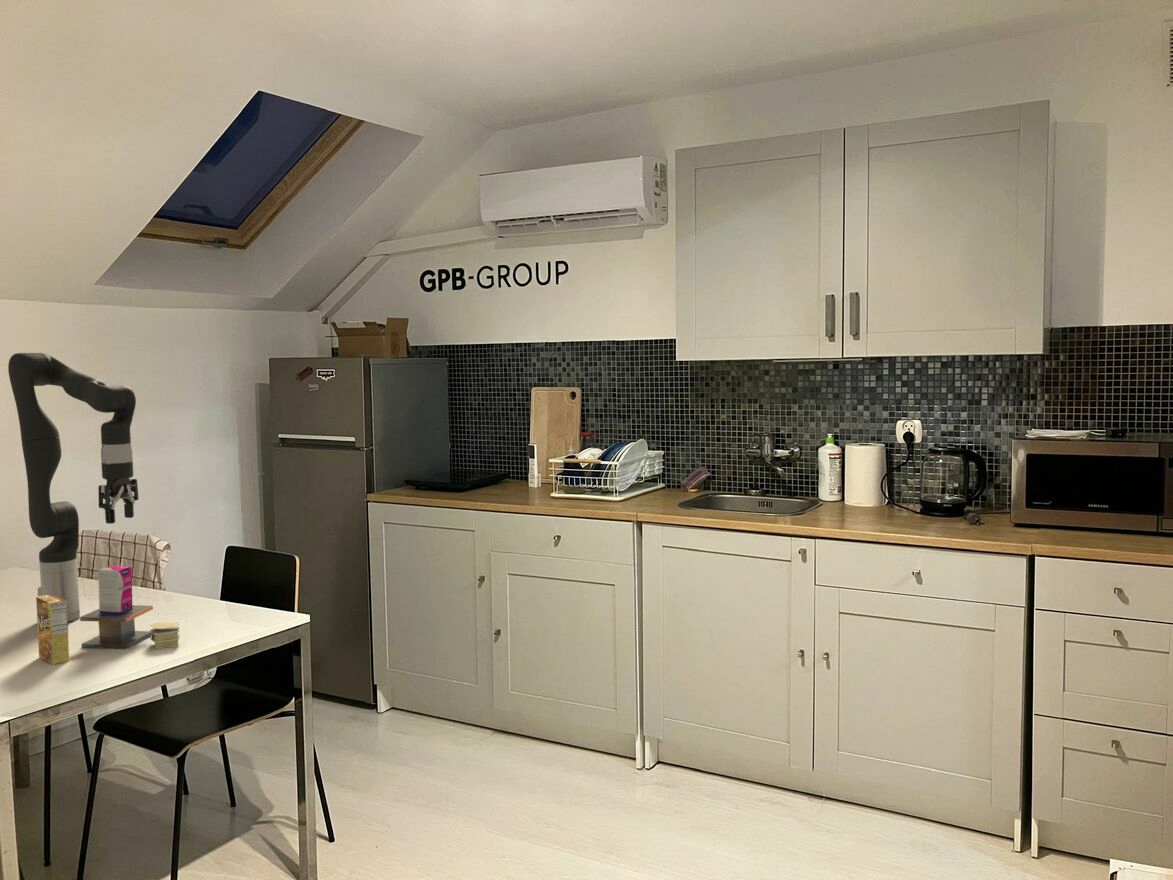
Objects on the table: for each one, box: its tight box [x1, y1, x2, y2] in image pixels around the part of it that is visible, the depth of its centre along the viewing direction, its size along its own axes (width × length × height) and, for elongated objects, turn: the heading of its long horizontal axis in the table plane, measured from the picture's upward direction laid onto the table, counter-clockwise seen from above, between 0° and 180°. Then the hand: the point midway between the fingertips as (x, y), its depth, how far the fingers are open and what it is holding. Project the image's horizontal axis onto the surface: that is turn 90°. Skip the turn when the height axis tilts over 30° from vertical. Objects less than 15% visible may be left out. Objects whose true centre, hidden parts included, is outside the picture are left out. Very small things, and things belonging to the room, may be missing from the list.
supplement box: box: [97, 564, 133, 614], centre depth 245 cm, size 6×6×12 cm
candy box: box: [35, 594, 70, 666], centre depth 231 cm, size 9×4×15 cm, turn 50°
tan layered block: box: [149, 621, 181, 649], centre depth 243 cm, size 10×9×6 cm
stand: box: [79, 604, 154, 650], centre depth 246 cm, size 12×12×8 cm
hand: (120, 520), depth 254 cm, fingers open, 8 cm apart
